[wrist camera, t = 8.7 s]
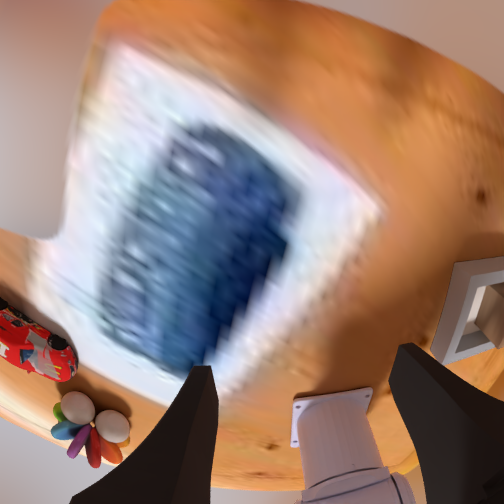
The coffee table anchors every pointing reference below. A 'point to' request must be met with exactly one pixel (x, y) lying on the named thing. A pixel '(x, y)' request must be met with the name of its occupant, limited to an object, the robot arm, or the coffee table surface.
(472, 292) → the tray
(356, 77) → the coffee table surface
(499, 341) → the block with grey knob
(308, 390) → the coffee table surface
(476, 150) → the coffee table surface
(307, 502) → the robot arm
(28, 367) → the race car
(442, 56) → the coffee table surface
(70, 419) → the rainbow flower
